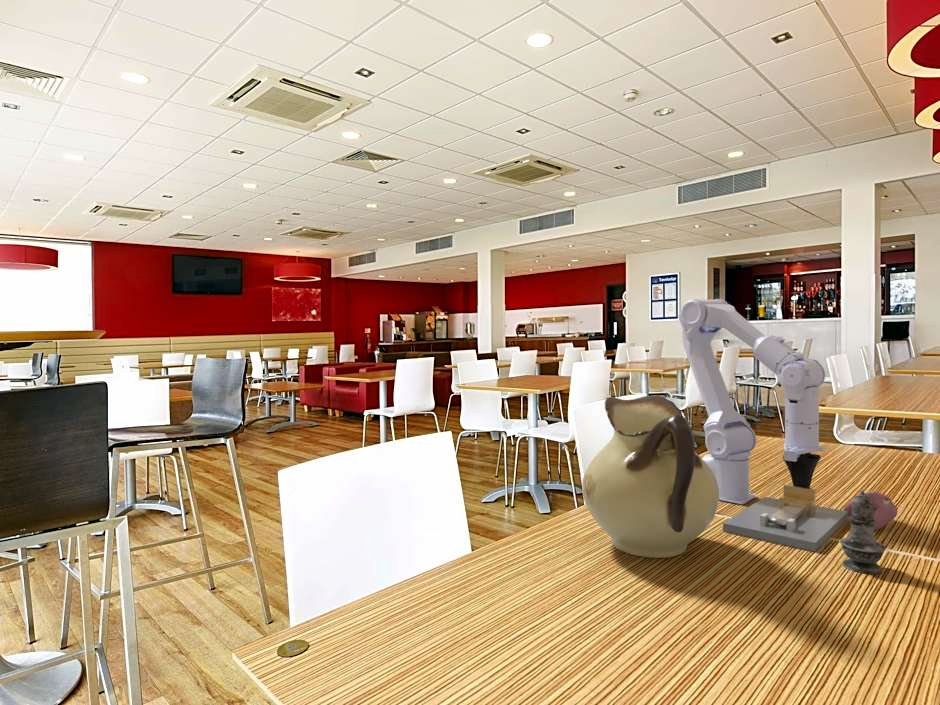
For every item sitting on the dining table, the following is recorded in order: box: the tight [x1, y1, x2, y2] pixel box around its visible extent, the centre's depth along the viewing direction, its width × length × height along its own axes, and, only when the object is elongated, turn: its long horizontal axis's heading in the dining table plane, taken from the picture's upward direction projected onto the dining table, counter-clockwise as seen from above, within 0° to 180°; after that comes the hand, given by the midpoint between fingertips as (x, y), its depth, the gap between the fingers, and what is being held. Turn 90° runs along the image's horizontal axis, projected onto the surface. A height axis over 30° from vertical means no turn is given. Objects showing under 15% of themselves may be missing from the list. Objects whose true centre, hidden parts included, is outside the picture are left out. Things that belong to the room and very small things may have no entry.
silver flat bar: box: [768, 504, 806, 526], centre depth 109 cm, size 3×12×1 cm, turn 135°
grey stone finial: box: [839, 489, 886, 575], centre depth 91 cm, size 6×6×12 cm
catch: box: [779, 483, 817, 516], centre depth 113 cm, size 5×3×4 cm, turn 45°
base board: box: [722, 496, 849, 553], centre depth 110 cm, size 15×22×3 cm
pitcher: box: [581, 395, 720, 559], centre depth 101 cm, size 22×24×25 cm
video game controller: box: [843, 490, 898, 531], centre depth 110 cm, size 10×5×7 cm, turn 169°
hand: (801, 491), depth 115 cm, fingers closed
